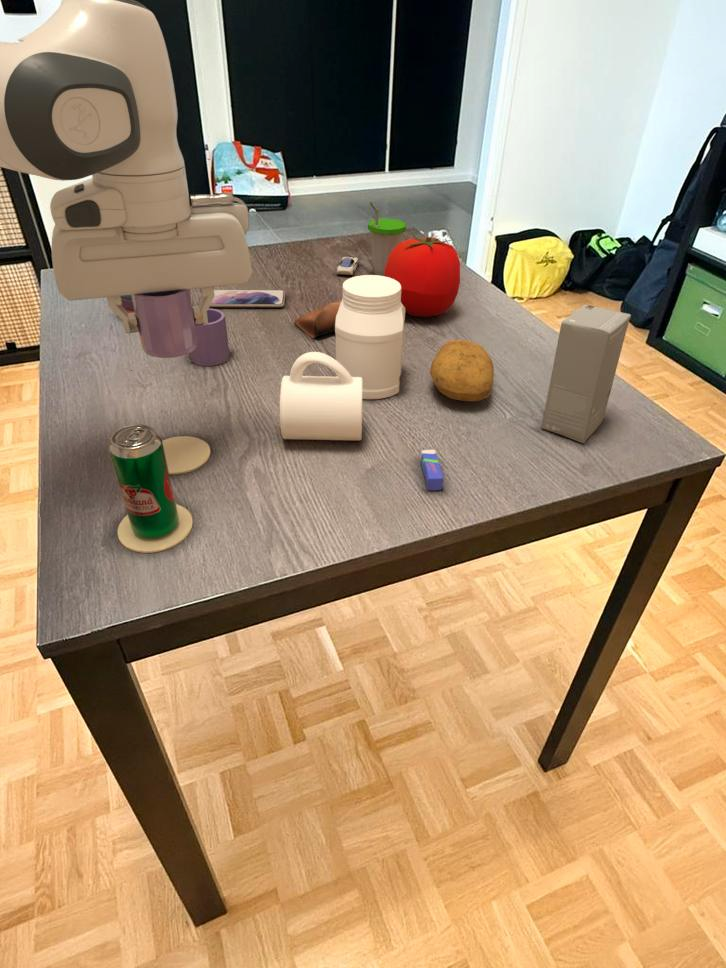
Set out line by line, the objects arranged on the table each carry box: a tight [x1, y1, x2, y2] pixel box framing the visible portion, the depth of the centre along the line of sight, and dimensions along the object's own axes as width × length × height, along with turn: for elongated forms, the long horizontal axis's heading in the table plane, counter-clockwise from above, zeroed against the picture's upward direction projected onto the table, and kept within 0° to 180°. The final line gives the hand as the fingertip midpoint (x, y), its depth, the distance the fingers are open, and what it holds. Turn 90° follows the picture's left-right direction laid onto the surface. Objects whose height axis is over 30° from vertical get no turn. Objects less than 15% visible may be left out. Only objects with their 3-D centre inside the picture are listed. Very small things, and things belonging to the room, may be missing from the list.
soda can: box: [108, 423, 179, 539], centre depth 65 cm, size 5×5×12 cm
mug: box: [279, 351, 363, 441], centre depth 80 cm, size 8×10×12 cm
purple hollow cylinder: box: [188, 308, 230, 367], centre depth 99 cm, size 6×6×7 cm
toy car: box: [336, 256, 359, 277], centre depth 134 cm, size 4×12×3 cm, turn 171°
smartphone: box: [209, 289, 286, 309], centre depth 119 cm, size 7×1×15 cm
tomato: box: [384, 236, 461, 318], centre depth 113 cm, size 16×14×14 cm
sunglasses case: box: [294, 299, 342, 339], centre depth 112 cm, size 18×7×7 cm, turn 128°
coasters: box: [117, 435, 212, 554], centre depth 74 cm, size 12×21×1 cm, turn 20°
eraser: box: [419, 449, 445, 491], centre depth 77 cm, size 2×6×2 cm, turn 3°
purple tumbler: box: [131, 289, 198, 359], centre depth 70 cm, size 6×6×7 cm
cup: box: [367, 201, 407, 276], centre depth 127 cm, size 8×8×15 cm
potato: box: [429, 339, 495, 402], centre depth 92 cm, size 9×13×7 cm
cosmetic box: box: [541, 304, 632, 444], centre depth 83 cm, size 8×7×16 cm
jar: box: [334, 274, 406, 400], centre depth 91 cm, size 12×10×15 cm
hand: (166, 327), depth 71 cm, fingers closed on purple tumbler, 6 cm apart
